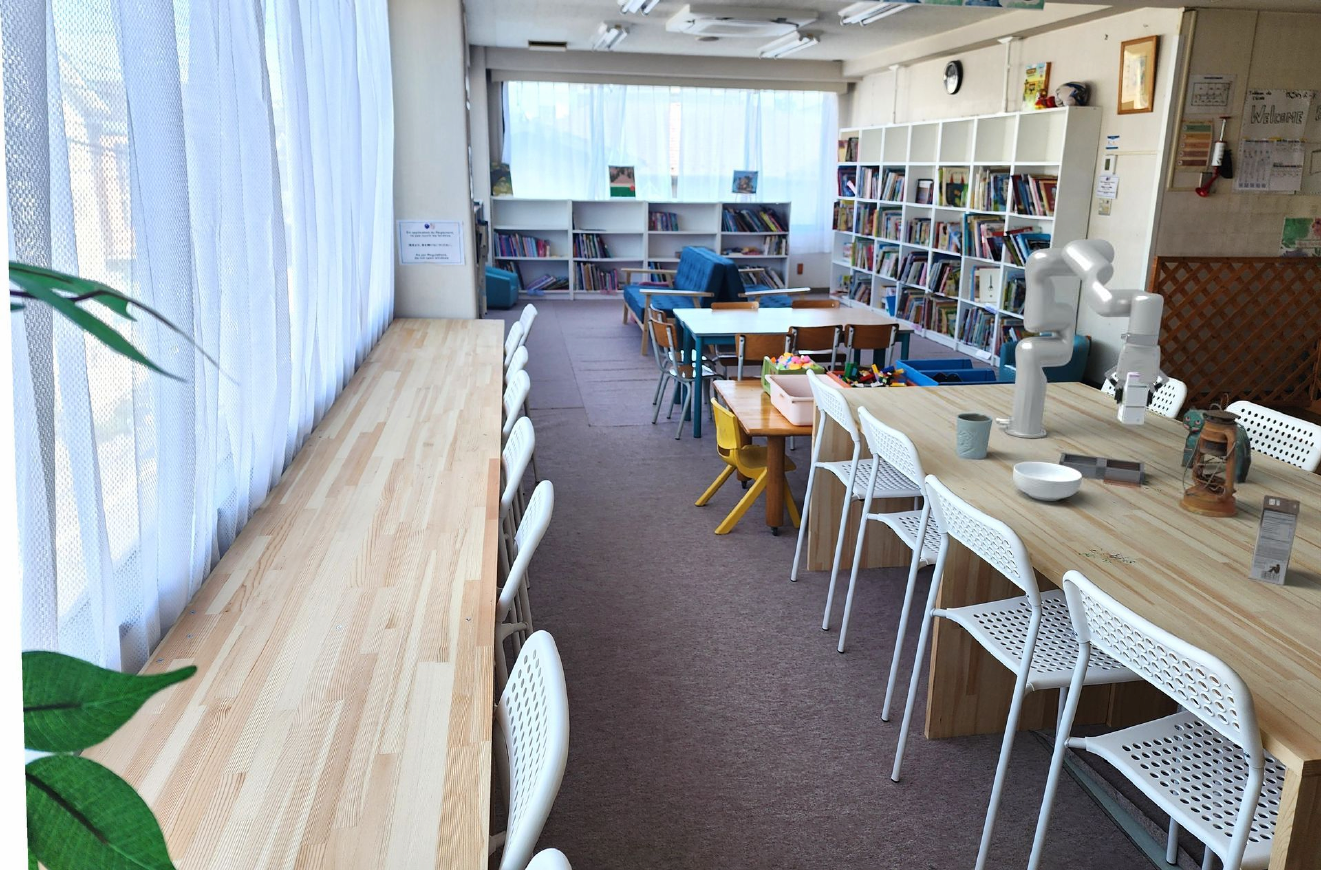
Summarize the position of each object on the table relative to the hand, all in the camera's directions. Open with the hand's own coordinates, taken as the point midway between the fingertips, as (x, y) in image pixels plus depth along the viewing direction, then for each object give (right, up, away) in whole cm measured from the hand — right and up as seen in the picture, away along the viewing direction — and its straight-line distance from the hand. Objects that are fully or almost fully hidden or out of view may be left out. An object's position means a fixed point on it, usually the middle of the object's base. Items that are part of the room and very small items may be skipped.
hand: (1132, 403), depth 256 cm
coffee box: (0, -38, -58) cm, 69 cm away
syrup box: (0, -5, +1) cm, 5 cm away
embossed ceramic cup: (-36, -15, +25) cm, 46 cm away
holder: (-6, -20, +7) cm, 22 cm away
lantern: (+10, -27, -18) cm, 34 cm away
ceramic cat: (+28, -20, +10) cm, 35 cm away
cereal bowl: (-28, -25, -10) cm, 39 cm away
